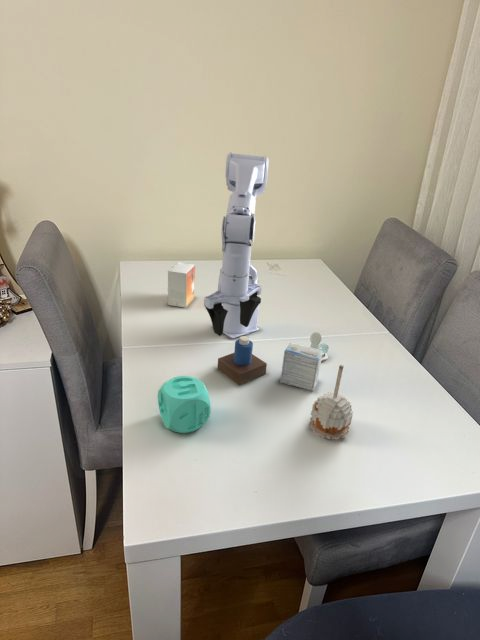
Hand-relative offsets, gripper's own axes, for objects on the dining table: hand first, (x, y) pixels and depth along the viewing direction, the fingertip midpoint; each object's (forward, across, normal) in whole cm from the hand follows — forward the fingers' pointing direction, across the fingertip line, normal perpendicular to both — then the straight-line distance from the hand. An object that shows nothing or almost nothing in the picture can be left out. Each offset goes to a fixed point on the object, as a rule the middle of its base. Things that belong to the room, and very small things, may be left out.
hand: (231, 329), depth 109 cm
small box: (+11, +12, +36) cm, 39 cm away
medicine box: (+11, +10, -14) cm, 20 cm away
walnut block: (+10, +2, -3) cm, 11 cm away
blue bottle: (+7, +2, -3) cm, 8 cm away
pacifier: (+11, +22, -8) cm, 25 cm away
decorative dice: (+10, -20, -10) cm, 24 cm away
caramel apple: (+10, +2, -29) cm, 31 cm away
